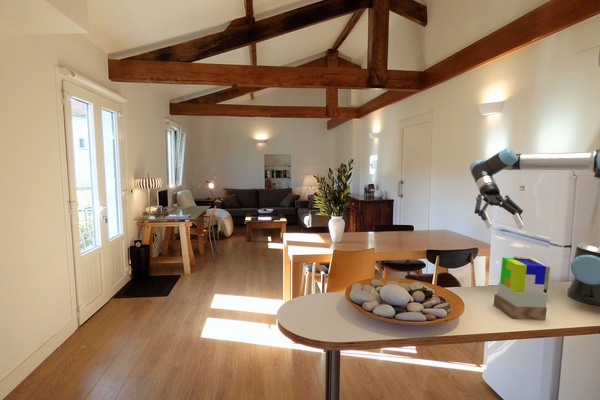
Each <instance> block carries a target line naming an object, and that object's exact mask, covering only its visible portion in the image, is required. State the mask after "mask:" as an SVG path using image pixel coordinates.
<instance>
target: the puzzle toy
mask: <svg viewBox="0 0 600 400" xmlns="http://www.w3.org/2000/svg"><path fill="white" fill-rule="evenodd" d="M501 260H502V261H501V269H500V278H499V279H500V280H499V283H502V284H503V285H505V286H506V287H508V288H509V289H511V290H512V291H514V292H526V293H541V294H543V291H544V282H545V274H546V266H544V265H542V264H540V263H537V262H535V261H533V260H531V259H522V258H514V257H502V258H501Z"/></svg>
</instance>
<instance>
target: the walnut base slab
mask: <svg viewBox="0 0 600 400" xmlns="http://www.w3.org/2000/svg"><path fill="white" fill-rule="evenodd" d="M493 306H494V307H495V308H496V309H498V310H499V311H501V312H502V313H504V314H505V315H506V316H507V317H509V318H510V319H512V320H513V319H514V320H534V321H546V319H547V318H546V317H547V310H548V309H547V307H546V308H542V307H517V306H514V305H512V304H511V303H509V302H508V301H506V300H505V299H503V298H501V297H500V296H498V295H497V293H494V297H493Z"/></svg>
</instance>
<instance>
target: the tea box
mask: <svg viewBox="0 0 600 400" xmlns="http://www.w3.org/2000/svg"><path fill="white" fill-rule="evenodd" d="M513 258H522V259H531V260H533V261H535V262H537V263H540V264H542V265H544V266H546V274H545V282H544V291H543V292H544V293H546V294H547V295H548V287H549V279H550V273H551V271H550V270H551V267H550V266H549V265H547V264H546V263H545V262H543V261H542V260H540V259H538V258H533V257H525V256H524V257H523V256H515V255H514V256H513Z"/></svg>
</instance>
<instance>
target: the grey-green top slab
mask: <svg viewBox="0 0 600 400" xmlns="http://www.w3.org/2000/svg"><path fill="white" fill-rule="evenodd" d="M497 286H498V287H497V293H496V294H497V295H498V296H500V297H501V298H503V299H505V300H506V301H508V302H509V303H511V304H512V305H514V306H517V307H542V308H547V302H548V301H547V300H548V293H547V294H546V293H544V292H543V294H541V293H526V292H514V291H512V290H511V289H509V288H508V287H506V286H505V285H503V284H502V283H500V282H498V285H497Z"/></svg>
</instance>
